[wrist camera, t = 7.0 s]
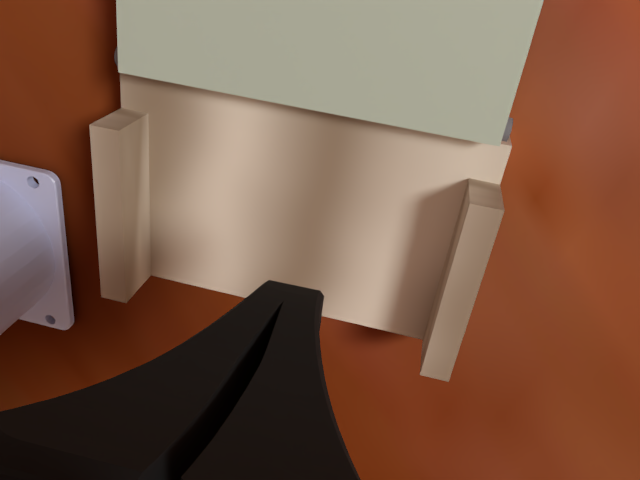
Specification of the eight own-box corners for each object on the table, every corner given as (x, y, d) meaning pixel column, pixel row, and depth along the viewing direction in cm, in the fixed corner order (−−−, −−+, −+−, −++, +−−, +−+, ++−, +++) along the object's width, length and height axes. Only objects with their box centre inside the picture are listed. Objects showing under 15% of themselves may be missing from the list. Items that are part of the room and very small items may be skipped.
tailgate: (112, 71, 18) (105, -129, 16) (128, 65, 19) (123, -125, 17) (506, 147, 17) (569, -59, 14) (504, 138, 18) (563, -59, 15)
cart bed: (145, 251, 24) (101, 297, 21) (140, 61, 21) (86, 83, 17) (449, 322, 23) (448, 381, 20) (508, 131, 19) (517, 169, 16)
